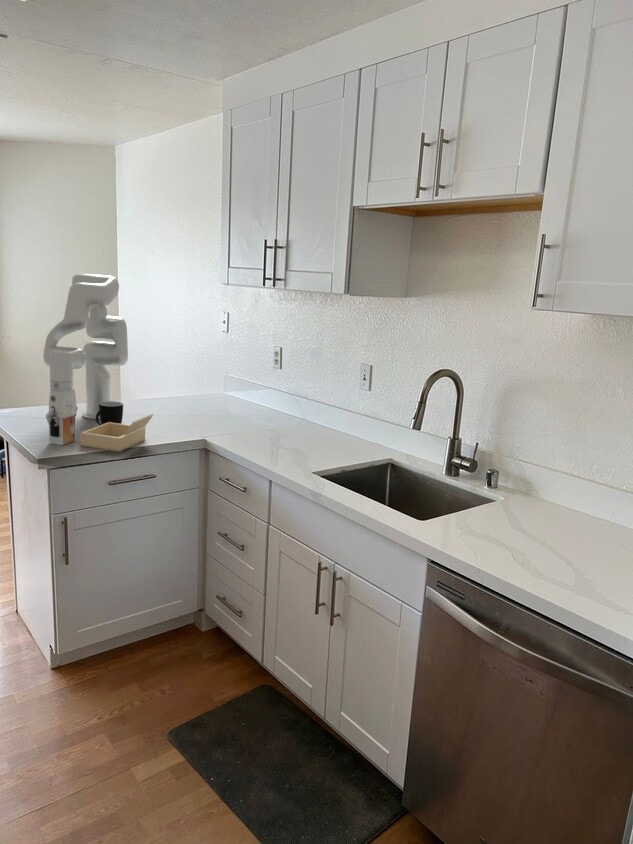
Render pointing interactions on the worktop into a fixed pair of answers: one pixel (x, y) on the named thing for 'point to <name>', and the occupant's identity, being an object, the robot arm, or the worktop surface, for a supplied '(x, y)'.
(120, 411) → the mug
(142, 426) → the flap
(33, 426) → the worktop surface
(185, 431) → the worktop surface
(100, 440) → the carton
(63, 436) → the small box
